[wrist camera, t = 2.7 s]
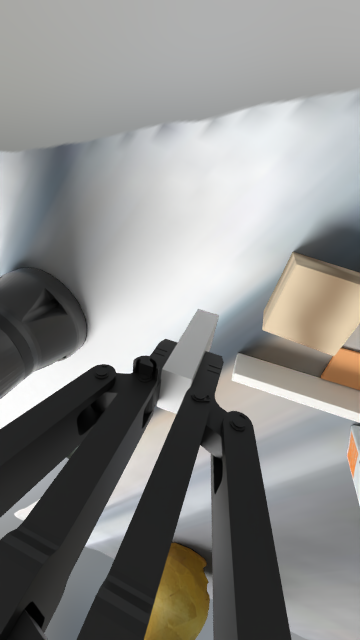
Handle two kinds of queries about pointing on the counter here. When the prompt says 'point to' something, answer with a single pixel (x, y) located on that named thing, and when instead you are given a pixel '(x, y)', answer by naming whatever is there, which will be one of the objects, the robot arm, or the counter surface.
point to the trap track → (298, 386)
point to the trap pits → (344, 369)
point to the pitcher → (180, 597)
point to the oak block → (314, 304)
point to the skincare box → (355, 457)
